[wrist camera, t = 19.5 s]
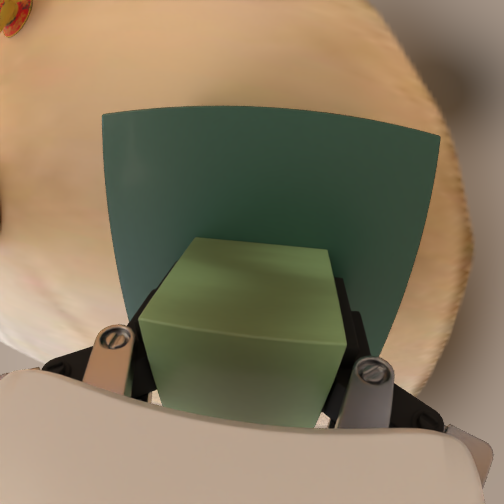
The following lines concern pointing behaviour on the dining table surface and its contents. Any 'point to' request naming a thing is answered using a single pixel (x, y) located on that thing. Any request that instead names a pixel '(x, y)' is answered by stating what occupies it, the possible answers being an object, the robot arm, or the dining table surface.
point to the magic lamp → (13, 15)
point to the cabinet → (270, 194)
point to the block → (246, 332)
